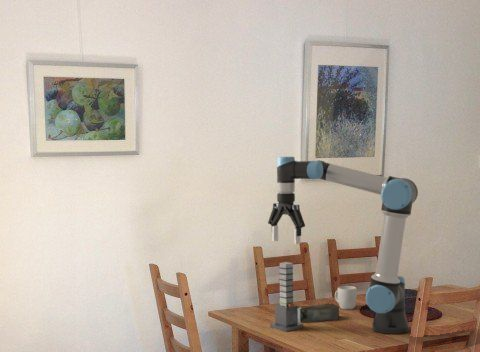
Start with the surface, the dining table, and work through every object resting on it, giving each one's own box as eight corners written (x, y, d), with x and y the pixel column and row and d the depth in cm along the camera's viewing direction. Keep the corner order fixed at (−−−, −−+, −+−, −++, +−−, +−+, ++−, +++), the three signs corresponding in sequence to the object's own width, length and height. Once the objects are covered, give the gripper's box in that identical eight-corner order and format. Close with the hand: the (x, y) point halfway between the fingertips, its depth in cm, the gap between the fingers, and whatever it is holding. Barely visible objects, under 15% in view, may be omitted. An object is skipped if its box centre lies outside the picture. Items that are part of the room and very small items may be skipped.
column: (293, 309, 307) (293, 263, 307) (286, 311, 304) (286, 264, 304) (286, 308, 310) (286, 262, 310) (279, 309, 308) (279, 263, 307)
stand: (303, 327, 307) (302, 302, 307) (286, 331, 301) (286, 306, 300) (286, 323, 315) (286, 299, 314) (270, 327, 308) (269, 302, 308)
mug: (360, 308, 344) (360, 287, 344) (346, 311, 339) (346, 290, 338) (342, 304, 354) (342, 284, 354) (328, 306, 349) (328, 286, 349)
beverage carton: (293, 319, 324) (293, 304, 324) (332, 316, 329) (332, 302, 329) (300, 323, 316) (300, 308, 316) (340, 320, 322) (340, 305, 322)
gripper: (313, 193, 299) (313, 244, 299) (272, 191, 318) (272, 239, 318) (300, 194, 294) (300, 245, 295) (259, 191, 313) (260, 240, 314)
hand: (286, 242), depth 307 cm, fingers open, 13 cm apart
